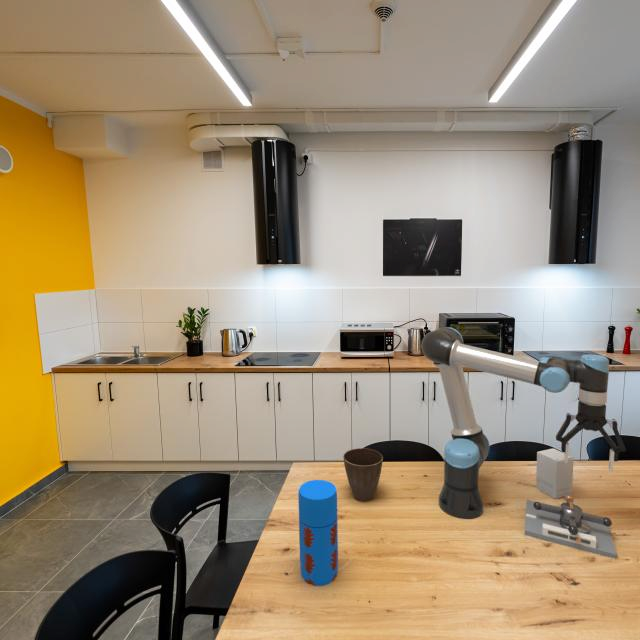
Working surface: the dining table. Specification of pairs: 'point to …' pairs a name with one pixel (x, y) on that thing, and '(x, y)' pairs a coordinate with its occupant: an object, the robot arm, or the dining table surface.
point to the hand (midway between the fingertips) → (587, 465)
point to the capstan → (573, 516)
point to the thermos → (318, 532)
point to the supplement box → (554, 473)
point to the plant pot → (363, 472)
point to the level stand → (551, 530)
